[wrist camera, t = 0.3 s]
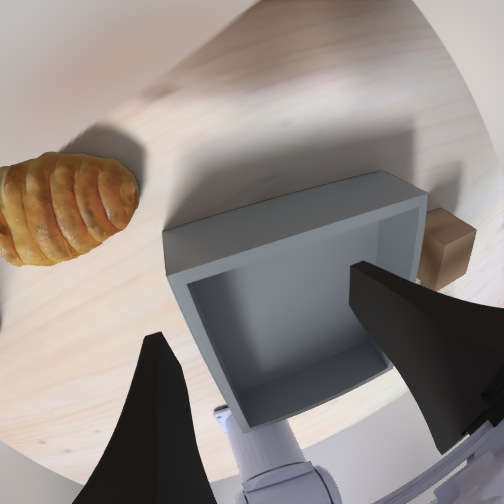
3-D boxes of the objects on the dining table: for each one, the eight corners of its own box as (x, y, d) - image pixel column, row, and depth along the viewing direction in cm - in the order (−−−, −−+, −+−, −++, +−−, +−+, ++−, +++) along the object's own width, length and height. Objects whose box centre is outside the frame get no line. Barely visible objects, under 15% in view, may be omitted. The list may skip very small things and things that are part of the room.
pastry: (131, 128, 15) (124, 137, 12) (148, 233, 19) (149, 265, 15) (-4, 167, 13) (-33, 186, 10) (25, 259, 16) (7, 292, 13)
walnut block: (433, 249, 28) (465, 273, 24) (401, 264, 27) (434, 292, 23) (439, 207, 25) (476, 229, 21) (406, 219, 25) (444, 245, 20)
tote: (368, 338, 32) (392, 368, 28) (230, 394, 29) (243, 433, 25) (382, 170, 21) (428, 193, 17) (161, 232, 18) (166, 276, 14)
